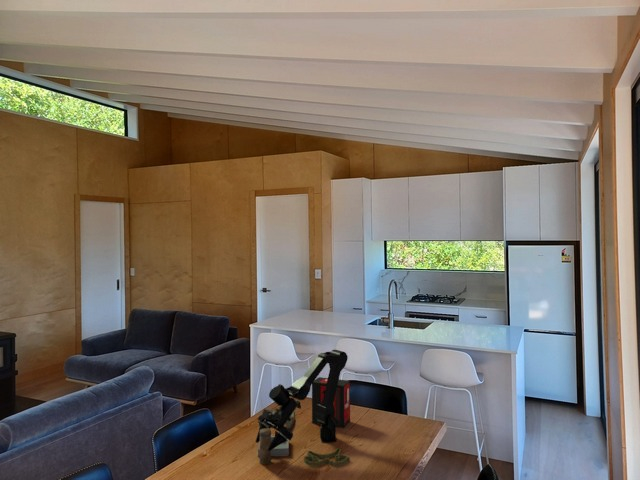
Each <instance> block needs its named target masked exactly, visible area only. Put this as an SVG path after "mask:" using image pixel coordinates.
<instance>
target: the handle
mask: <svg viewBox="0 0 640 480" xmlns="http://www.w3.org/2000/svg"><path fill="white" fill-rule="evenodd" d="M258 432H259V435H260V457H259V464H260V465H262V466H265V465H270V464H271V462H272V456H271V450H270V451H269V450H268V448H269V446H270V444H271V436H272V430H271V428H270V429H269V428H268V429H267V428H265V429H261V430H260V431H259V430H258Z"/></svg>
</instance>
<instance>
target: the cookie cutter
mask: <svg viewBox="0 0 640 480" xmlns="http://www.w3.org/2000/svg"><path fill="white" fill-rule="evenodd" d="M341 451H342V450H341V448H340V447H337V448H336V449H335V450H334V451H332V452H330V453H326V454H325V453H324V454H323V453H321V454H320V453H317V452H314V451H312V450H307V455H305V456H303V461H304V463H305V464H306V465H308V466H311V467H319V466H323V465H324V464H326V463H327V464H328V465H329V466H333V468H334V467H341V466H344V465H346V463H348V462H351V459H350V456H348V455H346V454H341ZM333 457H334V460H330V458H333ZM320 459H322V460H320Z"/></svg>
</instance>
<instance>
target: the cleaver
mask: <svg viewBox="0 0 640 480" xmlns="http://www.w3.org/2000/svg"><path fill="white" fill-rule="evenodd" d="M290 419H291V420H290V421H287V423H286V424H285V426H284V427H286V428H287V429H289V430H290V431H291V432H292V429H293V426H294V425H295V421H296V420H295V419H296V418H295V411H294V412H293V413H292V415H291V416H290Z"/></svg>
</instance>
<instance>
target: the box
mask: <svg viewBox="0 0 640 480" xmlns="http://www.w3.org/2000/svg"><path fill="white" fill-rule="evenodd" d="M274 437H275V435H271V442H272V440H273V439H274ZM287 440H288V439H287ZM289 441H290V440H288V441H285V442H284V443H282V444H280V445H278V446H277V447H275V448H274V449H272V450H271V457H285V456H288V457H289V450H290V449H289ZM257 457H259V458H260V441H259V442H258V448H257Z"/></svg>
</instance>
